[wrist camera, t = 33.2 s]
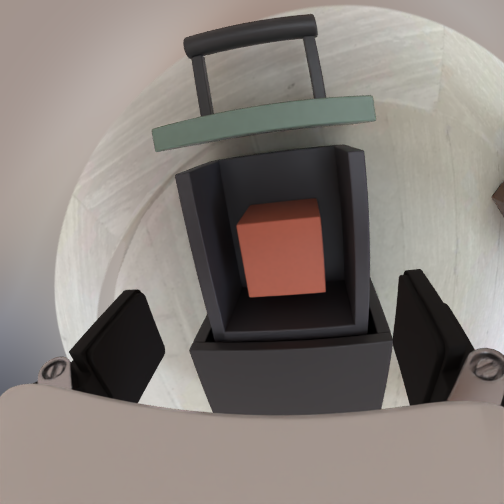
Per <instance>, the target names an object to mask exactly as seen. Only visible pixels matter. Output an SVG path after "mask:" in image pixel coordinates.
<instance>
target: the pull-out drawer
mask: <svg viewBox="0 0 504 504" xmlns="http://www.w3.org/2000/svg"><path fill="white" fill-rule="evenodd" d="M317 35H318V32H317V25H316V21H315V17H314V15H313V14H307V15H297V16H288V17H280V18H272V19H266V20H259V21H254V22H248V23H243V24H238V25H233V26H228V27H225V28H220V29H216V30H212V31H208V32H204V33H200V34H196V35H193V36H189V37H186V38H185V39H184V50H185V52H186V55H187V56H188V58H189V59H192V65H193V71H194V78H195V84H196V90H197V96H198V102H199V108H200V114H201V117H198V118H193V119H189V120H185V121H181V122H177V123H173V124H169V125H165V126H162V127H158V128H154V129H152V135H153V141H154V146H155V151H156V152H160V151H165V150H171V149H176V148H182V147H187V146H193V145H199V144H205V143H210V142H215V141H220V140H226V139H231V138H237V137H243V136H250V135H256V134H263V133H270V132H278V131H285V130H294V129H303V128H313V127H323V126H336V125H350V124H358V123H365V122H373V121H376V115H375V108H374V101H373V97H372V96H371V95H367V96H345V97H329V98H326V93H325V88H324V82H323V76H322V71H321V66H320V61H319V56H318V51H317V46H316V41H315V37H317ZM293 39H303V42H304V47H305V52H306V57H307V62H308V67H309V73H310V78H311V84H312V89H313V95H314V99H307V100H298V101H289V102H281V103H274V104H267V105H260V106H254V107H248V108H242V109H237V110H231V111H226V112H221V113H216V114H214V112H213V106H212V100H211V94H210V88H209V82H208V76H207V70H206V64H205V58H204V57H203V56H206V55H210V54H214V53H218V52H222V51H227V50H231V49H236V48H241V47H247V46H252V45H258V44H264V43H270V42H277V41H285V40H293ZM175 178H176V183H177V188H178V193H179V197H180V202H181V207H182V211H183V216H184V220H185V225H186V229H187V234H188V238H189V242H190V247H191V251H192V255H193V259H194V263H195V267H196V271H197V275H198V279H199V283H200V287H201V291H202V295H203V299H204V302H205V306H206V310H207V314H208V317H209V321H210V324H211V328H212V332H213V335H214V339H215V342H257V341H284V340H303V339H318V338H332V337H343V336H354V335H365V334H367V333H368V318H369V292H370V234H369V208H368V191H367V177H366V165H365V155H364V151H363V150H360V149H357V148H353V147H350V146H347V145H332V146H321V147H310V148H301V149H292V150H283V151H275V152H268V153H260V154H253V155H246V156H240V157H233V158H227V159H221V160H215V161H211V162H208V163H205V164H202V165H200V166H197V167H194V168H192V169H189V170H186V171H184V172H181V173H178V174H176V175H175ZM313 198H316V199H317V202H318V207H319V212H320V217H321V226H322V238H323V251H324V265H325V282H326V292H322V293H309V294H296V295H281V296H265V297H249V293H248V288H247V282H246V277H245V272H244V266H243V261H242V255H241V250H240V244H239V239H238V233H237V228H236V225H237V223H238V222H239V220H240V219H241V218H242V216H243V215H244V213H245V212H246V210H247V209H248V207H249V206H250V205H256V204H265V203H274V202H283V201H292V200H302V199H313Z"/></svg>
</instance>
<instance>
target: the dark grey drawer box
mask: <svg viewBox="0 0 504 504" xmlns="http://www.w3.org/2000/svg"><path fill="white" fill-rule="evenodd" d="M392 346H393V338H392V335H391V333H390V329H389V326H388V323H387V320H386V318H385V315H384V312H383V309H382V307H381V304H380V301H379V299H378V296H377V294H376V291H375V288H374V286H373V283H372V281H371V278H370V292H369V318H368V333H367V334H365V335H354V336H343V337H332V338H318V339H303V340H284V341H257V342H215V339H214V335H213V332H212V328H211V324H210V321H209V317H208V314H207V316H206V318H205V319H204V321H203V323H202V325H201V327H200V329H199V331H198V333H197V335H196V337H195V339H194V341H193V343H192V345H191V347H190V350H189V351H190V354H191V357H192V359H193V362H194V365H195V368H196V370H197V373H198V376H199V378H200V381H201V384H202V386H203V389H204V391H205V394H206V397H207V399H208V402H209V404H210V407H211V409H212V411H213V413H223V414H241V415H317V414H334V413H347V412H360V411H370V410H379V409H381V407H382V403H383V398H384V393H385V388H386V383H387V377H388V372H389V366H390V360H391V353H392Z"/></svg>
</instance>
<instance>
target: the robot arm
mask: <svg viewBox="0 0 504 504" xmlns="http://www.w3.org/2000/svg"><path fill="white" fill-rule="evenodd" d="M393 347H394V350H395V354H396V357H397V360H398V364H399V367H400V371H401V374H402V378H403V381H404V385H405V388H406V392H407V396H408V400H409V404H410V406H402V407H395V408H388V409H379V410H370V411H360V412H347V413H334V414H317V415H241V414H223V413H209V412H198V411H188V410H180V409H172V408H164V407H157V406H151V405H144V404H138V402H139V400H140V398H141V396H142V394H143V392H144V391H145V389H146V387H147V385H148V383H149V382H150V380H151V378H152V376H153V374H154V372H155V371H156V369H157V367H158V365H159V363H160V362H161V360H162V358H163V356H164V354H165V347H164V344H163V342H162V339H161V337H160V334H159V332H158V329H157V326H156V324H155V321H154V319H153V316H152V313H151V311H150V308H149V305H148V302H147V300H146V297H145V295H144V294H143V293H141V291H140V290H125V291H123V293H122V294H121V295H120V296H119V297H118V298H117V299H116V300H115V301H114V302H113V303H112V304H111V305H110V307H109V308H108V309H107V310H106V311H105V312H104V313H103V314H102V315H101V316H100V317H99V318H98V319H97V321H96V322H95V323H94V324H93V325H92V326H91V327H90V328H89V329H88V331H87V332H86V333H85V334H84V335H83V336H82V337H81V339H80V340H79V341H78V342H77V343H76V344H75V345H74V347H73V348H72V349H71V350H70V351H69V353H70V355H71V357H72V358H73V361H72V362H70V360H69V359H68V358H66V357H56V358H53V359H51V360H49V361H48V362H46V363H45V364H44V365H43V366H42V367H41V369H40V371H39V374H38V382H35V383H33V384H24V385H18V386H15V387H12V388H10V389H8V390H7V391H6V392H4V393H3V394H2V395H1V396H0V504H504V355H503V354H501V353H500V352H498V351H496V350H494V349H489V348H480V349H477V350H475V349H474V348H473V346H472V344H471V342H470V341H469V339H468V337H467V335H466V334H465V332H464V330H463V329H462V327H461V325H460V324H459V322H458V320H457V319H456V317H455V316H454V314H453V312H452V311H451V309H450V308H449V306H448V305H447V304H445V303H443V301H442V300H441V298H440V297H439V295H438V294H437V292H436V291H435V289H434V288H433V286H432V285H431V283H430V282H429V280H428V279H427V277H426V276H425V274H424V273H423V271H422V270H421V269H415V270H406V271H405V272H404V275H400V276H399V283H398V296H397V306H396V316H395V324H394V332H393Z"/></svg>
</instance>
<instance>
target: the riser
mask: <svg viewBox="0 0 504 504" xmlns="http://www.w3.org/2000/svg"><path fill="white" fill-rule="evenodd" d="M492 198H493V200H494V202H495V203H496V205H497V206H498V208H499V210H500V211H501V213H502V215H503V216H504V182H503V183H502V184H501V186H500V187H499V188H498V189H497V191H496V192H495V193H494V195H493V196H492Z"/></svg>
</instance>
